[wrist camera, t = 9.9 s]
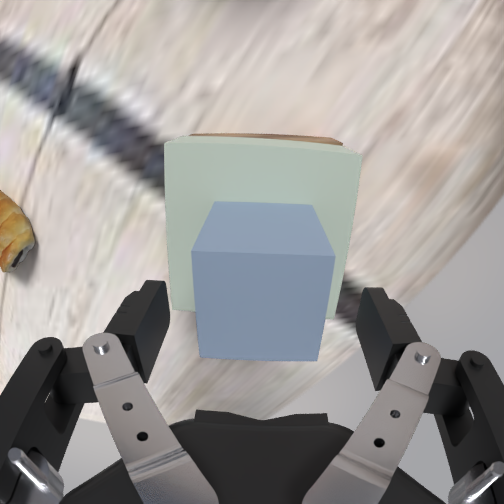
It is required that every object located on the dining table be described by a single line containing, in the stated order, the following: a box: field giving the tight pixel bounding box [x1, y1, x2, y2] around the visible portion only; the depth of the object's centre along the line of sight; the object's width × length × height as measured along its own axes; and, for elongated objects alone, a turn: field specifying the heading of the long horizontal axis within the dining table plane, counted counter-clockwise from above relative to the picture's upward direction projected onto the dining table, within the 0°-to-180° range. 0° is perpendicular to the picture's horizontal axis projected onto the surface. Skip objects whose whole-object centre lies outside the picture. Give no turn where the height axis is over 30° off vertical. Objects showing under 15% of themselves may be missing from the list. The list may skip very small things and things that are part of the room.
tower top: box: [164, 136, 363, 319], centre depth 19 cm, size 10×10×4 cm
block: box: [191, 201, 336, 361], centre depth 15 cm, size 5×5×6 cm
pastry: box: [0, 190, 35, 272], centre depth 24 cm, size 9×7×4 cm
